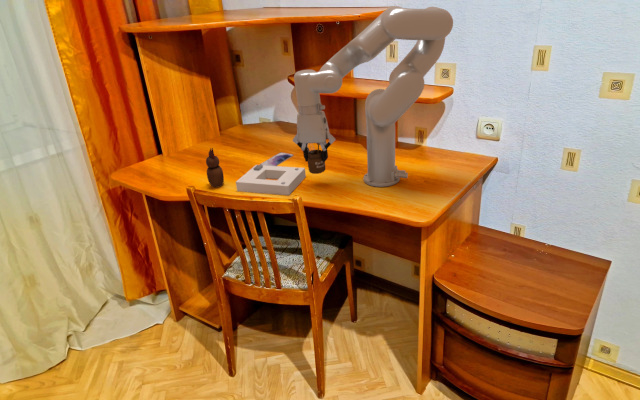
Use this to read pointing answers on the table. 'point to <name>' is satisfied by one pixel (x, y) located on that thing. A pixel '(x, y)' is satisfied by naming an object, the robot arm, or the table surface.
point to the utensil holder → (315, 161)
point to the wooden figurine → (214, 170)
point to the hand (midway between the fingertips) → (316, 159)
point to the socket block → (282, 186)
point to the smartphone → (277, 159)
